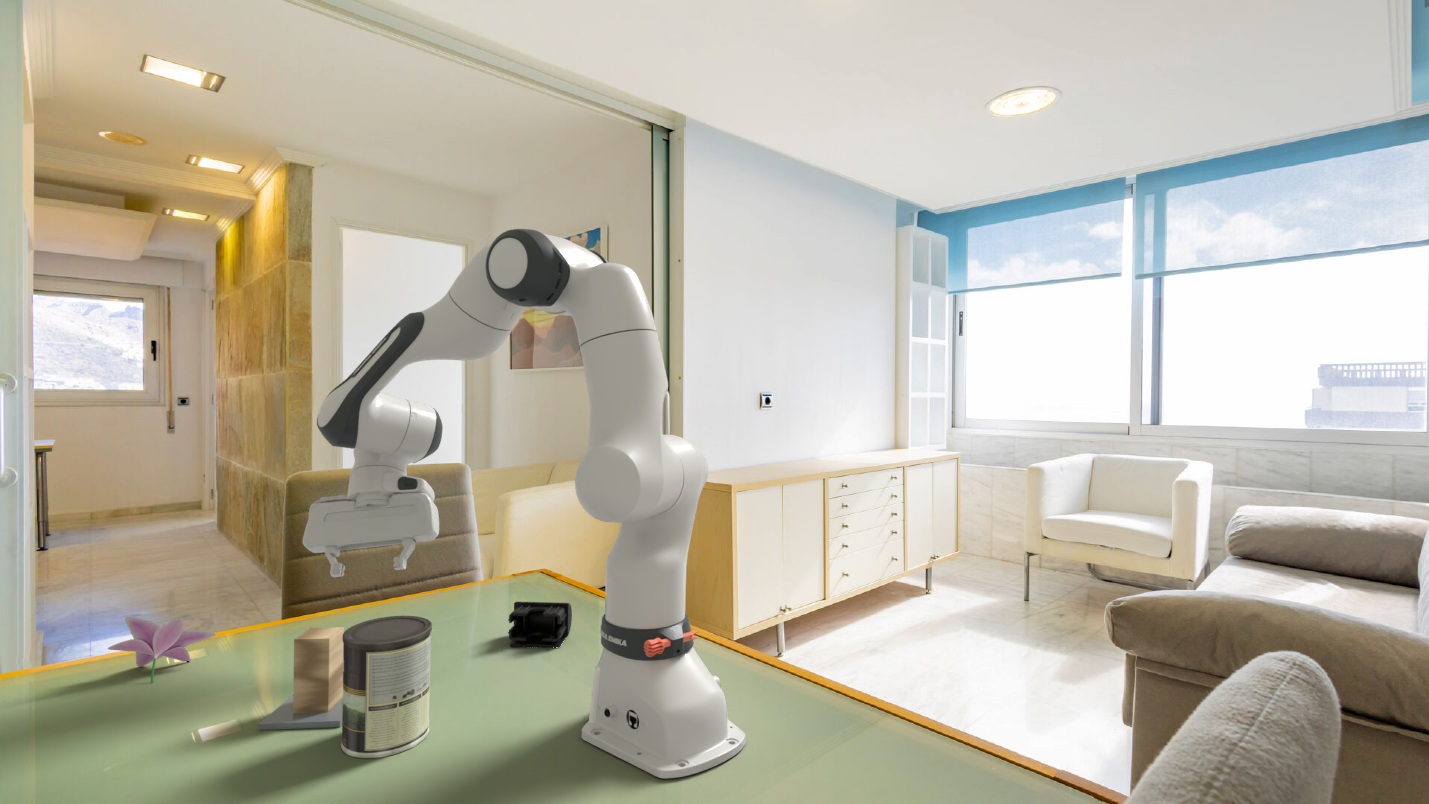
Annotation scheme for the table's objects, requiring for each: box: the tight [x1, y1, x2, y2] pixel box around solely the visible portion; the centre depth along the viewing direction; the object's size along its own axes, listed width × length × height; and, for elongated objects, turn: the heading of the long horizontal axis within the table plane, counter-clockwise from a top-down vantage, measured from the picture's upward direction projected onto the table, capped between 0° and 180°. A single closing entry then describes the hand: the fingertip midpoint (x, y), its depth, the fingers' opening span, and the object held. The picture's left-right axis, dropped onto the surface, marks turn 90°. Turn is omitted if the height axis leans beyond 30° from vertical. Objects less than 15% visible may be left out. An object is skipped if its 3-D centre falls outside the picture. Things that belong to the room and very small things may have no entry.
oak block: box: [292, 626, 345, 713], centre depth 91 cm, size 4×4×10 cm
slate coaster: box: [258, 694, 343, 731], centre depth 91 cm, size 10×10×1 cm
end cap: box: [507, 601, 573, 649], centre depth 119 cm, size 10×7×7 cm
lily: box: [107, 616, 217, 683], centre depth 102 cm, size 12×12×10 cm
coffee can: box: [340, 615, 433, 759], centre depth 84 cm, size 10×10×14 cm
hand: (368, 572), depth 105 cm, fingers open, 8 cm apart
